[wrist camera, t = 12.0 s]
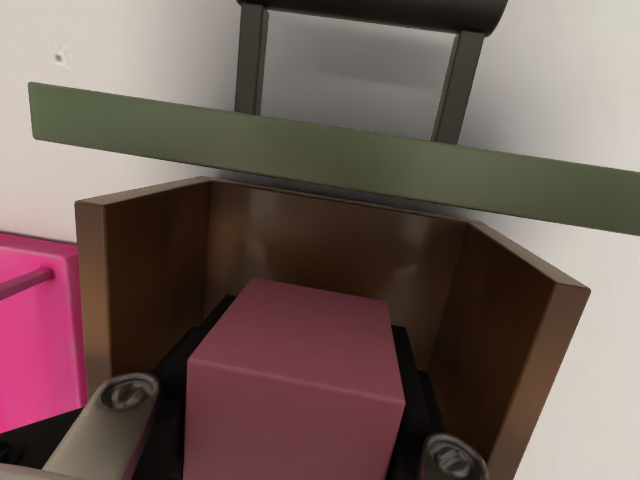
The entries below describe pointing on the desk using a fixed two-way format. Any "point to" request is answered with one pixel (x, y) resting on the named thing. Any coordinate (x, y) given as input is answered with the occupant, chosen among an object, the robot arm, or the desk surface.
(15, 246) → the file sorter
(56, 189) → the desk surface
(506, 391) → the drawer
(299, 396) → the block
